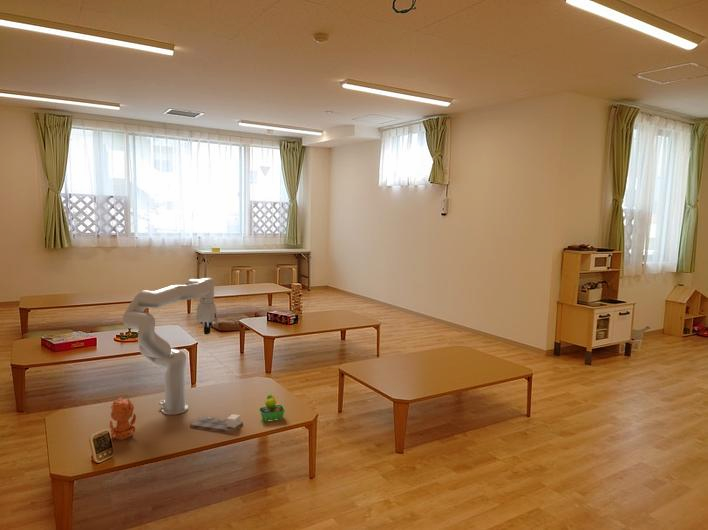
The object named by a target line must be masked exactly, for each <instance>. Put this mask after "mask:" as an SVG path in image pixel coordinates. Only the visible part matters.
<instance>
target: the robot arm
mask: <svg viewBox="0 0 708 530" xmlns="http://www.w3.org/2000/svg"><path fill="white" fill-rule="evenodd" d="M214 281H215V279H214V278H212V277H202V278H190V279H188V280H186V281H185V282H184V284H174V285H173V284H171V285H169V286H166V287H163V288H160V289H157V290H148V289H143V290H140V291H139V292H138V293H137V294H136V295H135V296H134V298H133V299H132V300H131V302H130V304H129V305H128V307H127V309H125V311H124V313H123V315H122V324H123V325H124V326H125V327H126V328H129V329H133V330H138V332H137V343H138V345H139V346H138V349H139V350H138V351H139V353H140V354H141V355H142V356H143V357H145V358H146V359H148V360H149V361H151V363H153V364H155V365H157V366H161V367H165V368H166V369H167V370H166V371H165V374H164V381H163V382H164V399H160V400H159V403H158V406H162V408H161V413H163V414H164V415H169V416H172V415H173V416H175V415H179V414H182V413H185V412H187V411H188V410H189V405H188V404H186V394H185V392H186V391H185V389H186V388H185V370H186V364H187V356H186V353H185V352H184V351H183V350H181V349H176V348H172V347H171V345H170V343H169V342H168V341H167V340H165V339H164V338H162V337H161V336H160V335H158V334H157V333H156V332H155V331H156V330H155V329H156V328H155V326H156V320H155V317H154V315H152V313H150V312H146V311H145V310H146V309H152V310H153V309H154V310H156V309H161V308H163V307H166V306H168V305H172V304H174V303H177V302H183V301H188V300H193V299H197V301H198V304H197V308H196V321H197V323H199V324H201V325H202V327H203V333H204V335H205V336H206V335H209V334H211V327H212V325H215V324H217V318H218V315H217V306H216V303H215V282H214Z"/></svg>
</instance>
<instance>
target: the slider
mask: <svg viewBox="0 0 708 530" xmlns="http://www.w3.org/2000/svg"><path fill="white" fill-rule="evenodd" d="M226 419H227V427H233V428H235V427H236V426H238V425H239V424H240V422H241V415H240V414H233V413H232V414H231V415H229V416H228V417H227V418H226Z"/></svg>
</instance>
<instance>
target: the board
mask: <svg viewBox="0 0 708 530" xmlns="http://www.w3.org/2000/svg"><path fill="white" fill-rule="evenodd" d="M243 424H244V423H243V421H240V424H239V425H238V426H236V427H235V428H233V427H227V418H226V419H225V418H218V417H211V416H205V415H201V416H200V417H198V418H197V419H195V420H194V421H193V422H191V423H189V428H192V429H198V430H205V431H211V432H216V431H217V433H222V434H230V435H233V434H234V433H235V432H236V431H237V430H239V429H240V428H241V427H242V426H243Z"/></svg>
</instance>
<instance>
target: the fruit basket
mask: <svg viewBox="0 0 708 530" xmlns="http://www.w3.org/2000/svg"><path fill="white" fill-rule="evenodd" d="M258 409H259V412H260V414H261V418H263V419H262V421H263V420H264V421H268V420H275V419H281V418H282V419H283V417H284V414H285V411H286V410H285V408H284V406H283V405H282V404H277V400H276V397H275V396H274V395H272V394H268V395H267V397H266V400H265V406H263V407H259V408H258ZM264 421H263V422H264ZM268 422H269V421H268Z"/></svg>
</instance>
